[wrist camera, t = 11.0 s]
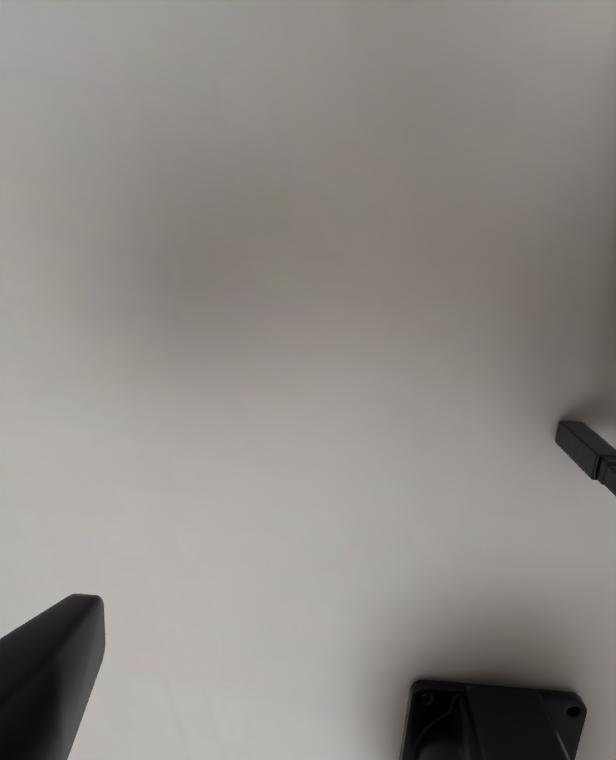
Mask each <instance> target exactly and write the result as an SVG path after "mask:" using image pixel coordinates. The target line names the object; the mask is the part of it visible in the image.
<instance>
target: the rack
mask: <svg viewBox="0 0 616 760" xmlns="http://www.w3.org/2000/svg"><path fill="white" fill-rule="evenodd" d="M555 442H556V443H557V444H558V445H559V446H560V447H561V449H562V450H563V451H564V452H565V453H566V454H567V455H568V456H569V457H570V458H571V459H572V460H573V461H574V462H575V463H576V464H577V465H578V466H579V467H580V468H581V469H582V470H583V471H584V472H585V473H586V474H587V475H588V476H589V477H590V478H591V479H593V480H598V481H599V482H600V483H601V484H603V485H605V486H606V487H607V488H608V489H609V490H610V491H611V492H612V493H613V494H614V495H615V496H616V449H614V448H613V447H612V446H611V445H610V444H608V443H607V442H606V441H605V440H604V439H602V438H601V437H600V436H599V435H598V434H596V433H595V432H594V431H593V430H591V429H590V428H589V427H588V426H587V425H585V424H584V423H583V422H573V421H560V422H559V426H558V431H557V435H556V440H555Z"/></svg>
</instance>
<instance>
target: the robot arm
mask: <svg viewBox="0 0 616 760" xmlns="http://www.w3.org/2000/svg"><path fill="white" fill-rule="evenodd" d="M104 651H105V623H104V604H103V600H102V598H101V597H99V596H98V595H87V594H72V595H70V596H68V597H66V598H65V599H63V600H61V601H60V602H58V603H57V604H55V605H53V606H52V607H50V608H49V609H47V610H45V611H44V612H42V613H41V614H39V615H37V616H36V617H34V618H33V619H31V620H29V621H28V622H26V623H25V624H23V625H22V626H20V627H18V628H17V629H15V630H14V631H12V632H10V633H9V634H7V635H6V636H4V637H2V638H1V639H0V760H67V759H68V756H69V753H70V751H71V748H72V745H73V742H74V739H75V737H76V734H77V731H78V728H79V725H80V722H81V720H82V717H83V714H84V711H85V708H86V705H87V703H88V700H89V697H90V694H91V691H92V689H93V686H94V683H95V680H96V677H97V674H98V672H99V669H100V666H101V663H102V660H103V656H104ZM425 693H426V694H427V695H425V696H421V694H425ZM571 706H573V707H572V708H569V707H571ZM586 713H587V708H586V706H585V704H584V703H583V701H582V699H581V697H580V696H579V695H578V694H576V693H573V692H563V691H551V690H540V689H528V688H516V687H504V686H493V685H481V684H469V683H457V682H446V681H434V680H419V681H416V682H415V683H413V684H412V686H411V688H410V693H409V699H408V706H407V713H406V720H405V726H404V733H403V740H402V746H401V753H400V760H574V759H575V755H576V751H577V748H578V744H579V740H580V736H581V732H582V729H583V725H584V721H585V717H586Z"/></svg>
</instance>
